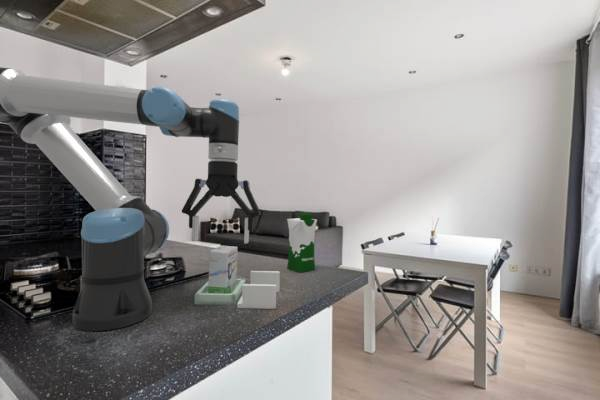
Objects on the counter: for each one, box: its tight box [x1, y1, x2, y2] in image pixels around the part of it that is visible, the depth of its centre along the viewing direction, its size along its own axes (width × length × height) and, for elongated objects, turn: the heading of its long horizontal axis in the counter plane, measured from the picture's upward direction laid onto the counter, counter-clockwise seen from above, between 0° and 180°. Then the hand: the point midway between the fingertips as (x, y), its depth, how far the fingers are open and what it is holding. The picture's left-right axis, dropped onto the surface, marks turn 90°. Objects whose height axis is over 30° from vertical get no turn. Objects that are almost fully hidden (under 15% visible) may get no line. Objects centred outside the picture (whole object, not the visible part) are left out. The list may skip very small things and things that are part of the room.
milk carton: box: [286, 212, 318, 274], centre depth 114 cm, size 9×9×20 cm
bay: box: [236, 270, 281, 310], centre depth 83 cm, size 9×13×6 cm
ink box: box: [207, 245, 238, 294], centre depth 85 cm, size 9×5×12 cm, turn 173°
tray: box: [194, 278, 246, 306], centre depth 85 cm, size 10×14×2 cm
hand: (220, 241), depth 85 cm, fingers open, 13 cm apart
